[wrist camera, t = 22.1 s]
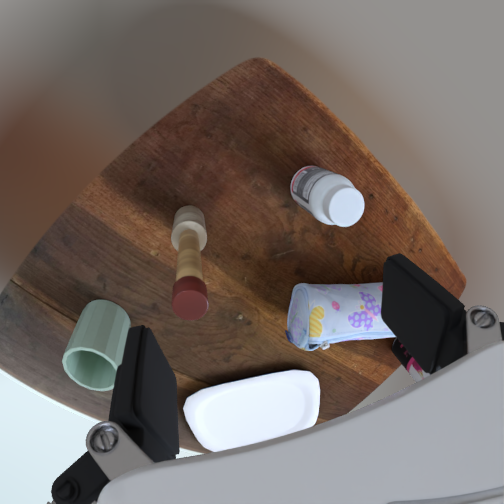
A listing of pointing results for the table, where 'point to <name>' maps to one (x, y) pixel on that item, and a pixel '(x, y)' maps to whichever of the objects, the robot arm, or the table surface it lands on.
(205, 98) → the table surface
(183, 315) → the wooden rod
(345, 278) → the table surface
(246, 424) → the plate
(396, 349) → the beverage can
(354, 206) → the pill bottle
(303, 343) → the pencil case
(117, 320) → the cup
